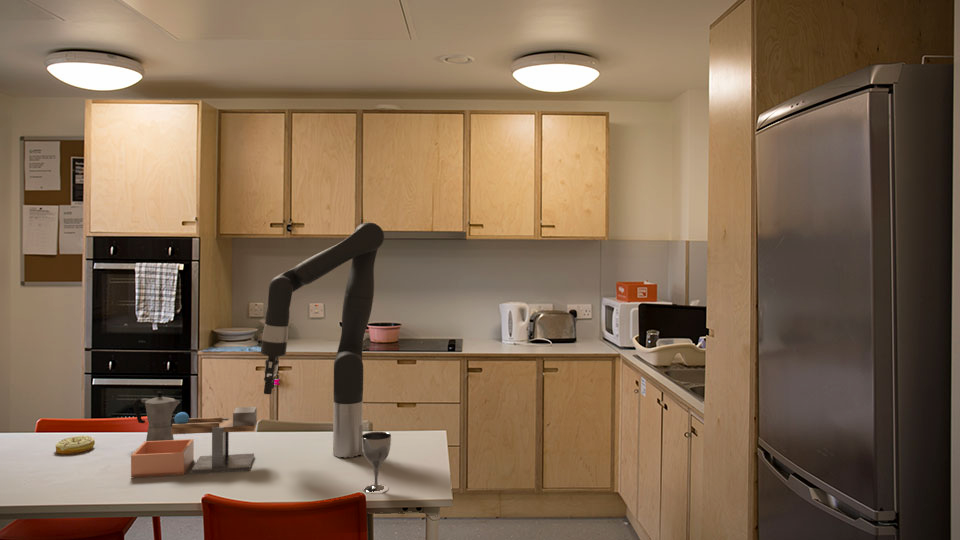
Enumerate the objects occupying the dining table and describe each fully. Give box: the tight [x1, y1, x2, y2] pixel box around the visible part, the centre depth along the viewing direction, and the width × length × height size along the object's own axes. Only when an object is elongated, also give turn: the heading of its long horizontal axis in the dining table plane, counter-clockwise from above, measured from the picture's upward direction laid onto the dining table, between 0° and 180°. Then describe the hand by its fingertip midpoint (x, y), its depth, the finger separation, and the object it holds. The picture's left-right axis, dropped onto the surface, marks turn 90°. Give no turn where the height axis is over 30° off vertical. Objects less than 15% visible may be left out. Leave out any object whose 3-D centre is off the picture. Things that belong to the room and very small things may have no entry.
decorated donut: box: [55, 435, 96, 455], centre depth 213 cm, size 10×11×4 cm
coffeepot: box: [132, 390, 181, 441], centre depth 219 cm, size 15×9×18 cm, turn 92°
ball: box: [173, 411, 190, 424], centre depth 197 cm, size 4×4×4 cm
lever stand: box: [190, 417, 255, 475], centre depth 200 cm, size 16×13×13 cm
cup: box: [130, 438, 195, 478], centre depth 197 cm, size 14×14×6 cm
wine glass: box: [362, 431, 392, 493], centre depth 183 cm, size 8×8×15 cm
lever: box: [171, 406, 258, 435], centre depth 199 cm, size 23×8×6 cm, turn 103°
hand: (268, 391), depth 206 cm, fingers open, 8 cm apart
